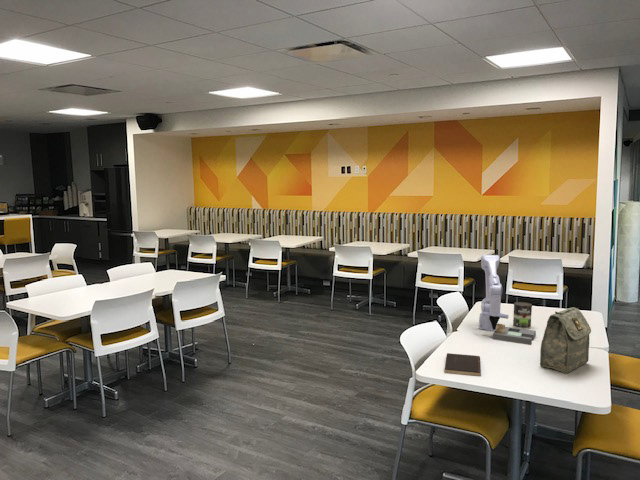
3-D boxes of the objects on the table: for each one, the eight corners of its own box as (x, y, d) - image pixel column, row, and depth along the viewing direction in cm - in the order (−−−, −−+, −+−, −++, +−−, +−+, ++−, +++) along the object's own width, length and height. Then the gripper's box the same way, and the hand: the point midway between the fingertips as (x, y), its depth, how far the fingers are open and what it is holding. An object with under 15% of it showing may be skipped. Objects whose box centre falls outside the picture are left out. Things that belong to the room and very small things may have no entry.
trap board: (492, 339, 293) (492, 333, 293) (499, 330, 309) (499, 325, 308) (530, 344, 283) (530, 339, 283) (535, 335, 299) (535, 330, 298)
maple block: (496, 332, 296) (496, 325, 295) (497, 330, 299) (497, 323, 299) (503, 333, 294) (503, 326, 293) (504, 331, 297) (505, 324, 297)
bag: (571, 375, 239) (574, 316, 236) (537, 366, 251) (539, 310, 248) (591, 364, 254) (595, 308, 251) (558, 355, 266) (561, 302, 263)
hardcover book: (444, 373, 243) (444, 368, 243) (446, 357, 265) (446, 353, 265) (480, 377, 239) (481, 372, 238) (480, 360, 261) (480, 356, 260)
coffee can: (532, 329, 312) (533, 306, 310) (514, 328, 313) (515, 305, 312) (528, 324, 322) (529, 302, 320) (511, 324, 323) (512, 301, 322)
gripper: (480, 305, 297) (479, 329, 298) (507, 309, 290) (506, 333, 291) (483, 303, 303) (482, 326, 304) (509, 306, 296) (508, 329, 297)
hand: (494, 329), depth 298 cm, fingers closed
